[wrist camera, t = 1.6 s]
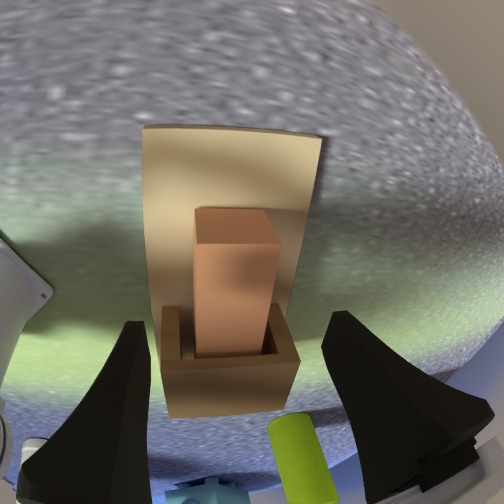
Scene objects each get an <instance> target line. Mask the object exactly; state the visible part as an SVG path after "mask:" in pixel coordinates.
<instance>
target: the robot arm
mask: <svg viewBox="0 0 504 504" xmlns="http://www.w3.org/2000/svg"><path fill="white" fill-rule="evenodd" d="M43 293H44V294H45V295H44V294H43ZM53 293H54V290H53V288H52V287H51V286H50V285H49V284H48V283H46V282H45V281H44V280H43V279H42V278H41V277H40V276H39V275H38V274H37V273H35V272H34V271H33V270H32V269H31V268H30V267H29V266H28V265H27V264H26V263H25V262H24V261H23V260H22V259H21V258H20V257H19V256H18V255H17V254H16V253H15V252H14V251H13V250H12V249H11V248H10V247H9V246H8V245H7V244H6V243H5V242H4V241H3V240H2V239H1V238H0V388H1V385H2V382H3V379H4V376H5V373H6V370H7V368H8V365H9V362H10V359H11V357H12V354H13V352H14V349H15V347H16V344H17V342H18V339H19V337H20V334H21V332H22V330H23V327H24V325H25V324H26V323H27V322H28V321H29V320H30V319H31V318H32V316H33V315H34V314H35V313H36V312H37V311H38V310H39V309H40V308H41V307H42V306H43V305H44V304H45V303H46V302H47V301H48V300H49V299H50V298H51V297H52V295H53ZM321 349H322V352H323V356H324V360H325V363H326V366H327V369H328V371H329V374H330V376H331V378H332V381H333V383H334V385H335V388H336V390H337V392H338V394H339V397H340V399H341V401H342V403H343V406H344V408H345V410H346V413H347V415H348V418H349V421H350V424H351V428H352V431H353V435H354V438H355V442H356V446H357V450H358V454H359V459H360V464H361V469H362V474H363V482H364V489H365V498H366V502H367V504H486V503H487V502H488V501H489V500H490V499H491V498H493V496H495V495H496V494H497V493H498V492H499V491H500V490H501V489H502V488H503V487H504V450H503V448H502V446H501V444H500V442H499V441H498V439H497V437H494V438H492V439H491V440H489V441H488V442H486V443H485V444H483V445H482V446H481V447H479V448H478V449H476V450H475V448H474V445H475V444H476V442H477V441H476V440H475V438H474V437H475V436H476V435H477V434H478V433H479V432H480V431H481V430H482V429H483V428H485V427H486V426H487V425H488V424H489V423H490V422H491V420H492V419H493V418H494V416H495V414H494V412H493V410H492V409H491V407H490V405H489V404H488V403H487V401H486V400H485V399H482V398H479V397H476V396H473V395H470V394H467V393H464V392H462V391H460V390H457V389H455V388H452V387H450V386H448V385H446V384H444V383H442V382H440V381H438V380H437V379H435V378H433V377H431V376H429V375H428V374H426V373H424V372H423V371H421V370H420V369H418V368H417V367H415V366H414V365H412V364H411V363H409V362H408V361H406V360H405V359H404V358H402V357H401V356H400V355H398V354H397V353H396V352H395V351H393V350H392V349H391V348H390V347H388V346H387V345H386V344H385V343H384V342H382V341H381V340H380V339H379V338H378V337H377V336H375V335H374V334H373V333H372V332H371V331H370V330H369V329H367V328H366V327H365V326H364V325H363V324H362V323H361V322H360V321H358V320H357V319H356V318H355V317H354V316H353V315H351V314H350V313H349V312H348V311H336V312H333V314H332V316H331V319H330V322H329V325H328V328H327V331H326V334H325V336H324V339H323V342H322V345H321ZM150 386H151V356H150V351H149V346H148V341H147V336H146V330H145V325H144V321H127V322H126V323H125V325H124V327H123V329H122V331H121V334H120V336H119V338H118V340H117V342H116V344H115V346H114V348H113V350H112V352H111V353H110V355H109V357H108V359H107V361H106V363H105V364H104V366H103V368H102V370H101V371H100V373H99V374H98V376H97V378H96V379H95V381H94V383H93V384H92V386H91V387H90V389H89V390H88V392H87V393H86V395H85V396H84V398H83V399H82V400H81V402H80V403H79V405H78V406H77V407H76V408H75V410H74V411H73V412H72V413H71V415H70V416H69V417H68V419H67V420H66V421H65V422H64V423H63V424H62V426H61V427H60V428H59V429H58V430H57V431H56V432H55V433H54V434H53V435H52V436H51V437H50V438H49V439H48V440H47V441H46V443H45V444H43V445H42V446H41V447H40V448H39V449H38V450H37V451H36V452H35V453H34V454H32V455H31V456H30V457H29V458H28V459H27V460H26V461H24V462H23V463H22V464H21V468H20V472H19V476H18V482H17V493H16V499H17V501H18V502H19V503H21V504H152V497H151V489H150V481H149V470H148V457H147V421H148V409H149V397H150ZM4 406H5V401H4V400H3V399H2V397H1V396H0V479H1V478H2V477H3V476H4V474H5V472H6V471H7V469H8V466H9V464H10V460H11V455H12V447H13V441H12V432H11V428H10V426H9V423H8V421H7V420H6V419H5V417H4V416H3V415H2V413H3V410H4Z"/></svg>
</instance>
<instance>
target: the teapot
mask: <svg viewBox="0 0 504 504" xmlns="http://www.w3.org/2000/svg"><path fill="white" fill-rule="evenodd" d="M218 481H219V478H216V477H211V478H206V479H204V482H205V484H202V485H198V486H193V487H191V486H190V485H189V484H177V485H176V486H177V487H178V488H179V489H176V490H170V491H165V495H166V504H251V503H250V499H249V494H248V491H245V490H241V489H237V488H234V487H235V486H236V483H227V484H224V485H222V484H218Z"/></svg>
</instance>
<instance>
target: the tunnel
mask: <svg viewBox="0 0 504 504" xmlns="http://www.w3.org/2000/svg"><path fill="white" fill-rule="evenodd" d="M300 362H301V360H300V358H299V355H298V353H297V350H296V347H295V345H294V342H293V340H292V337H291V334H290V332H289V329H288V327H287V324H286V321H285V319H284V316H283V314H282V311H281V308H280V306H279V303H270V309H269V314H268V319H267V324H266V329H265V334H264V339H263V344H262V349H261V354H260V355H258V356H244V357H228V358H206V359H182V350H181V335H180V318H179V306H162V318H161V350H160V372H161V377H162V383H163V388H164V394H165V399H166V404H167V409H168V413H169V418H196V417H215V416H229V415H241V414H251V413H260V412H268V411H276V410H283V409H284V406H285V403H286V401H287V398H288V395H289V393H290V390H291V387H292V385H293V382H294V379H295V376H296V374H297V371H298V368H299V365H300Z"/></svg>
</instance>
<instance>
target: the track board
mask: <svg viewBox="0 0 504 504" xmlns="http://www.w3.org/2000/svg"><path fill="white" fill-rule="evenodd" d="M321 143H322V139H321V138H319V137H317V136H315V135H310V134H302V133H294V132H285V131H275V130H264V129H252V128H238V127H220V126H191V125H145V126H144V128H143V129H142V192H143V218H144V236H145V250H146V263H147V274H148V284H149V294H150V303H151V311H152V319H153V327H154V334H155V341H156V348H157V354H158V360H159V366H160V350H161V318H162V306H179V318H180V335H181V350H182V359H194V325H193V249H194V209H195V208H208V209H260V210H264V212H265V214H266V216H267V217H268V219H269V221H270V223H271V225H272V227H273V229H274V231H275V232H276V234H277V236H278V238H279V240H280V242H281V249H280V255H279V261H278V266H277V271H276V277H275V282H274V288H273V293H272V298H271V303H279V306H280V308H281V311H282V314H283V316H284V319H285V316H286V312H287V308H288V304H289V299H290V295H291V291H292V286H293V282H294V278H295V273H296V269H297V264H298V260H299V255H300V250H301V246H302V241H303V236H304V232H305V227H306V222H307V217H308V212H309V207H310V202H311V197H312V192H313V187H314V181H315V176H316V171H317V165H318V160H319V154H320V148H321ZM161 378H162V377H161ZM163 389H164V388H163Z"/></svg>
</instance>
